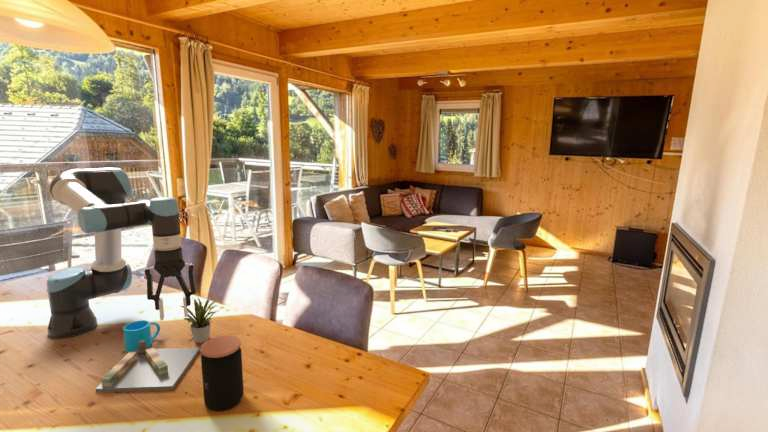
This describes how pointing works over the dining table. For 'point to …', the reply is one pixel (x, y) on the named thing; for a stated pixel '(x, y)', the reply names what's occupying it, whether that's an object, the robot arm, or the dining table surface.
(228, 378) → the coffee jar
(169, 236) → the robot arm
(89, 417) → the dining table surface
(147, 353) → the bar
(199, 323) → the house plant
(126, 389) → the board
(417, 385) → the dining table surface
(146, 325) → the mug
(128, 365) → the tongs base
